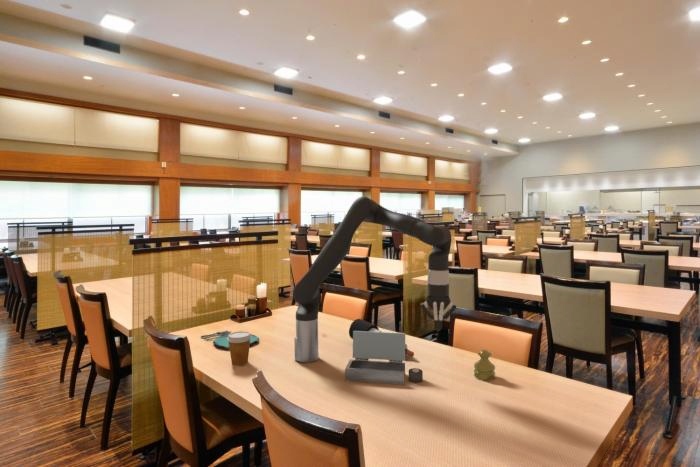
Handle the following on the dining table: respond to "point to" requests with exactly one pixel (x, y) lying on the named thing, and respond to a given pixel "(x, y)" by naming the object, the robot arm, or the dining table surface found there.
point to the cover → (379, 346)
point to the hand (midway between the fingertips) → (438, 330)
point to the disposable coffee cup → (239, 347)
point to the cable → (366, 326)
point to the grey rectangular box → (375, 371)
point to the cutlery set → (223, 341)
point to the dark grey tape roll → (415, 375)
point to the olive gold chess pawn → (484, 367)
